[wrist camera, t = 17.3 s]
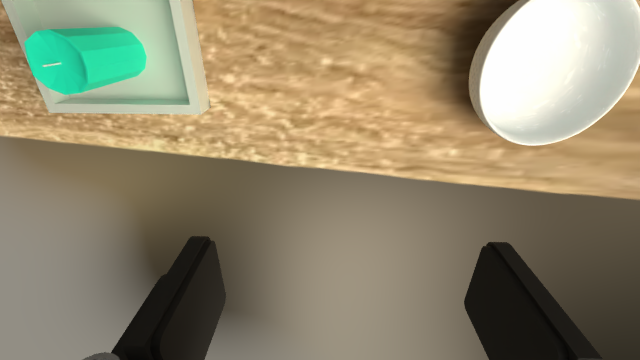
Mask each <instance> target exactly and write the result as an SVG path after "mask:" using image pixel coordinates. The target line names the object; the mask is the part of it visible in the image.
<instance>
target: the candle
mask: <svg viewBox="0 0 640 360" xmlns="http://www.w3.org/2000/svg"><path fill="white" fill-rule="evenodd" d="M24 44H25V50H26V55H27V60H28V62H29V65H30V68H31V71H32V74H33V76H34V77H35V78H37V79H38V80H39V81H40V82H41V83H43V84H44V85H45V86H46V87H47V88H49V89H51V90H54V91H56V92H59V93H62V94H64V95H69V94H77V93H83V92H86V91H89V90H93V89H96V88H99V87H103V86H106V85H109V84H113V83H116V82H120V81H123V80H126V79H130V78H133V77H136V76H138V75H139V74H140V73H141V72H142V71H143V70H144V69H145V66H146V59H147V56H146V53H145V50H144V47H143V45H142V43H141V42H140V41H139V40H138V39H137V38H136V36H135V35H134V34H133V33H132V32H130V31H127V30H125V29H123V28H121V27H99V28H70V29H47V30H40V31H36V32H35V33H33V34H32V35H31V36H30V37H29V38H28V39H27V40H26V41H25V42H24Z"/></svg>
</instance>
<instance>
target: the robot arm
mask: <svg viewBox="0 0 640 360" xmlns="http://www.w3.org/2000/svg"><path fill="white" fill-rule="evenodd" d="M225 298H226V293H225V289H224V283H223V278H222V274H221V269H220V264H219V259H218V254H217V249H216V245H215V242H214V241H211V240H210V238H209V237H205V236H201V237H200V236H192V237H190V239H189V240H188V241H187V243H186V245H185V246H184V248H183V249H182V251H181V253H180V254H179V256H178V257H177V259H176V260H175V262H174V264H173V265H172V267H171V268H170V270H169V271H168V273H167V274H165V275H163V276H161V278H160V279H159V280H158V282H157V283H156V284H155V286H154V288H153V289H152V291H151V292H150V294H149V295H148V297H147V298H146V300H145V301H144V303H143V304H142V306H141V307H140V309H139V311H138V312H137V314H136V315H135V317H134V318H133V320H132V321H131V323H130V324H129V326H128V327H127V329H126V330H125V332H124V333H123V335H122V337H121V338H120V340H119V341H118V343H117V344H116V346H115V347H114V349H113V350H112V352H111V353H106V352H104V353H98V354H94V355H92V356H89V357H87V358H85V359H83V360H204V359H205V356H206V354H207V351H208V348H209V345H210V343H211V340H212V337H213V335H214V332H215V329H216V326H217V324H218V320H219V318H220V315H221V313H222V310H223V307H224V304H225ZM464 304H465V309H466V311H467V314H468V316H469V318H470V320H471V322H472V324H473V326H474V328H475V331H476V333H477V335H478V337H479V339H480V341H481V343H482V345H483V348H484V350H485V352H486V354H487V356H488V358H489V360H602V357H601V356H600V355H599V354H598V352H597V351H596V350H595V349H594V347H593V346H592V345H591V344H590V343H589V341H588V340H587V339H586V338H585V336H584V335H583V334H582V333H581V331H580V330H579V329H578V328H577V326H576V325H575V324H574V323H573V322H572V320H571V319H570V318H569V316H568V315H567V314H566V313H565V312H564V310H563V309H562V308H561V307H560V305H559V304H558V303H557V302H556V300H555V299H554V298H553V297H552V295H551V294H550V293H549V292H548V290H547V289H546V288H545V287H544V286H543V284H542V283H541V282H540V281H539V279H538V278H537V277H536V276H535V274H534V273H533V272H532V271H531V269H530V268H529V267H528V266H527V265H526V263H525V262H524V261H523V260H522V259H521V257H520V256H519V255H518V253H517V252H516V251H515V250H514V248H513V247H512V246H511V245H510V244H509V243H507V242H489V243H488V244H487V245H486V246H483V248H482V249H481V252H480V255H479V258H478V261H477V264H476V267H475V270H474V273H473V276H472V279H471V282H470V285H469V288H468V291H467V294H466V297H465V301H464Z"/></svg>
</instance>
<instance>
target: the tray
mask: <svg viewBox="0 0 640 360" xmlns="http://www.w3.org/2000/svg"><path fill="white" fill-rule="evenodd" d="M1 1H2V3H3V6H4V8H5V10H6V13H7V15H8V17H9V20H10V22H11V24H12V27H13V29H14V31H15V34H16V36H17V38H18V41H19V43H20V45H21V48H22V50H23V52H24V55H25V57H26V59H27V55H26V50H25V44H24V42H25V41H26V40H27V39H28V38H29V37H30V36H31V35H32V34H33V33H35V32H36V31H40V30H47V29H70V28H99V27H121V28H123V29H125V30H127V31H130V32H132V33H133V34H134V35H135V36H136V38H137V39H138V40H139V41H140V42H141V43H142V45H143V47H144V50H145V53H146V56H147V59H146V66H145V69H144V70H143V71H142V72H141V73H140V74H139V75H138V76H136V77H133V78H130V79H126V80H123V81H120V82H116V83H113V84H109V85H106V86H103V87H99V88H96V89H93V90H89V91H86V92H83V93H77V94H69V95H64V94H62V93H59V92H56V91H54V90H51V89H49V88H47V87H46V86H45V85H44V84H43V83H41V82H40V81H39V80H38V79H37V78H35V77H34V78H35V80H36V83H37V85H38V87H39V90H40V92H41V94H42V97H43V99H44V101H45V104H46V106H47V108H48V111H49V113H115V114H203V113H204V112H205V111H207V110H208V109H209V108H211V107H210V101H209V95H208V89H207V83H206V77H205V71H204V65H203V59H202V53H201V47H200V42H199V36H198V30H197V24H196V18H195V12H194V6H193V0H1ZM27 62H28V60H27ZM28 64H29V62H28ZM29 66H30V65H29ZM30 69H31V68H30Z"/></svg>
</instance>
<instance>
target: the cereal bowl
mask: <svg viewBox="0 0 640 360" xmlns="http://www.w3.org/2000/svg"><path fill="white" fill-rule="evenodd" d="M639 64H640V7H639V6H638V4H637V2H636V0H519V1H517V2H516V3H515V4H514V5H512V6H511V7H509V8H508V9H507V10H506V11H505V12H504V13H503V14H501V16H500V17H499V18H497V19H496V21H495V22H494V23H493V24H492V26H491V27H490V28H489V29H488V31H487V32H486V33H485V35H484V36H483V38H482V40H481V41H480V44H479V45H478V48H477V50H476V52H475V54H474V57H473V61H472V63H471V67H470V74H469V92H470V94H469V95H470V98H471V102H472V104H473V107H474V109H475V111H476V113H477V115H478V117H479V118H480V119H481V121H482V122H483V123H484V124H485V125H486V126H487V127H488V128H489V129H490V130H491V131H493V132H494V133H496V134H497V135H498V136H500V137H502V138H504V139H506V140H508V141H510V142H513V143H517V144H521V145H545V144H550V143H554V142H558V141H561V140H564V139H567V138H569V137H572V136H574V135H576V134H578V133H580V132H581V131H583V130H585V129H586V128H588V127H589V126H591V125H592V124H594V123H595V122H596V121H598V120H599V119H600V118H601V117H602V116H604V115H605V114H606V113H607V112H608V111H609V110H610V109H611V108H612V107H613V106H614V105H615V104H616V103H617V102H618V100H619V99H620V98H621V97H622V95H623V94H624V93H625V91H626V90H627V88H628V87H629V85H630V83H631V81H632V80H633V78H634V76H635V74H636V71H637V69H638V67H639Z"/></svg>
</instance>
